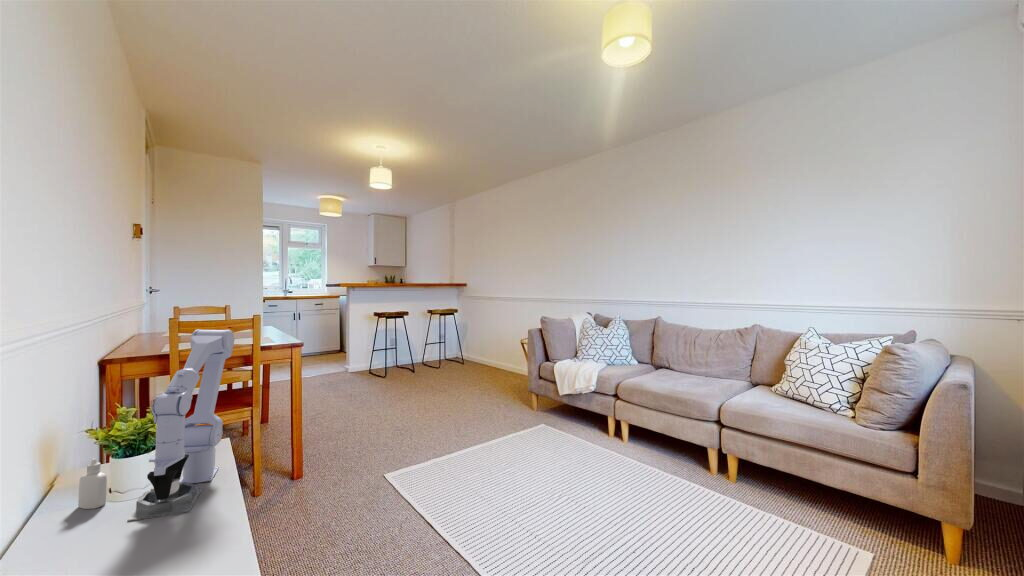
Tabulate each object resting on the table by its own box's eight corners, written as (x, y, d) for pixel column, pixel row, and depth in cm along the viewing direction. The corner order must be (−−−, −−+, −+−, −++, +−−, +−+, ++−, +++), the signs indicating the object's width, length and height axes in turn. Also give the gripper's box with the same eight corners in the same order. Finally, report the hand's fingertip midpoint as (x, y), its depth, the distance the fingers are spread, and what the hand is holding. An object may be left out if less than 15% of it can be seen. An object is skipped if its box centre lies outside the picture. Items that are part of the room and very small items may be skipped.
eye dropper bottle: (100, 498, 107) (102, 453, 107) (107, 505, 104) (109, 458, 104) (76, 505, 103) (79, 458, 103) (82, 513, 100) (84, 464, 100)
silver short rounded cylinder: (181, 497, 108) (182, 476, 108) (174, 506, 104) (175, 484, 104) (154, 500, 106) (155, 479, 106) (146, 510, 102) (147, 488, 102)
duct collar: (147, 497, 108) (147, 486, 108) (202, 490, 113) (202, 479, 113) (127, 521, 97) (127, 509, 97) (189, 511, 102) (189, 500, 102)
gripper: (161, 431, 110) (159, 481, 110) (138, 451, 97) (136, 508, 97) (193, 429, 113) (191, 477, 113) (175, 448, 100) (173, 503, 100)
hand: (168, 491), depth 105 cm, fingers open, 7 cm apart
